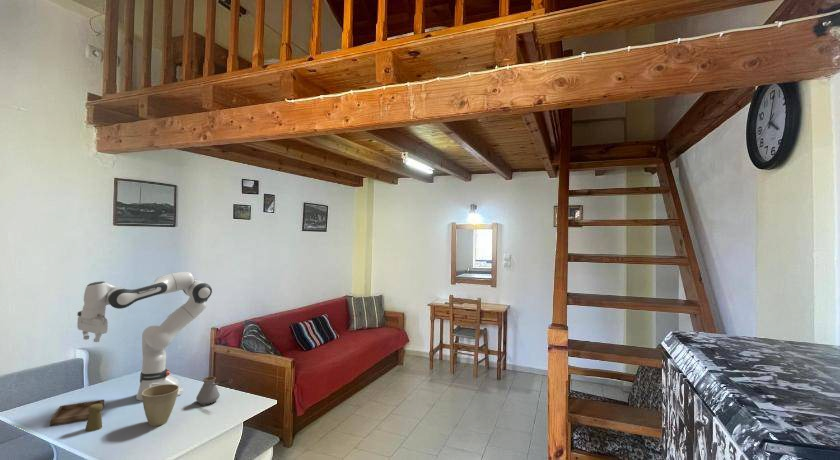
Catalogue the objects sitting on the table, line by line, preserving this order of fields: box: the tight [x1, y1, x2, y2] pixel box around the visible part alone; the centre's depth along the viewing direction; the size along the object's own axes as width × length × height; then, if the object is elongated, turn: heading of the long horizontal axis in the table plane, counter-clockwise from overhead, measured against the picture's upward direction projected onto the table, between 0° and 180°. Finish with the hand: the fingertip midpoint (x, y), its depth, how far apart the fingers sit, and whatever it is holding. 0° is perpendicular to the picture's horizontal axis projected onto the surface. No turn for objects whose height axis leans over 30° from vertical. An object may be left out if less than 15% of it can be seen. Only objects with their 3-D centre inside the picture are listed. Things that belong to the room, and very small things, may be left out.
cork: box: [84, 404, 104, 432], centre depth 169 cm, size 6×6×11 cm
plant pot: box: [142, 384, 180, 427], centre depth 177 cm, size 15×15×16 cm
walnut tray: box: [49, 399, 105, 427], centre depth 181 cm, size 17×17×3 cm
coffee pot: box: [195, 376, 232, 406], centre depth 201 cm, size 21×12×15 cm, turn 72°
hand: (91, 340), depth 184 cm, fingers open, 8 cm apart
